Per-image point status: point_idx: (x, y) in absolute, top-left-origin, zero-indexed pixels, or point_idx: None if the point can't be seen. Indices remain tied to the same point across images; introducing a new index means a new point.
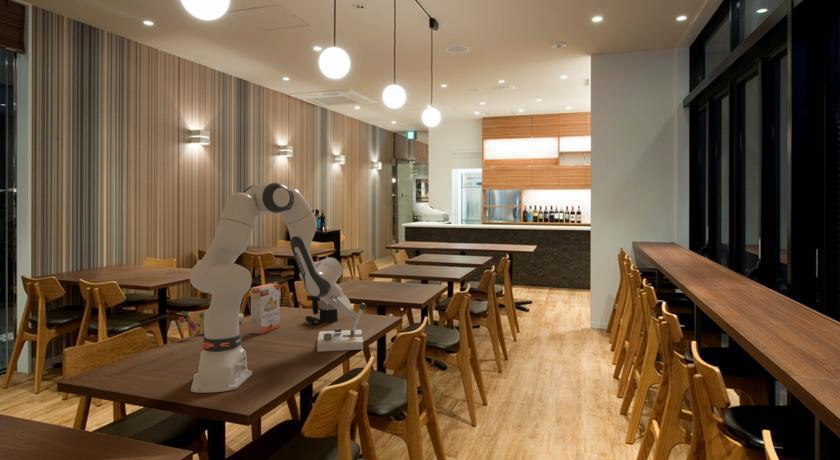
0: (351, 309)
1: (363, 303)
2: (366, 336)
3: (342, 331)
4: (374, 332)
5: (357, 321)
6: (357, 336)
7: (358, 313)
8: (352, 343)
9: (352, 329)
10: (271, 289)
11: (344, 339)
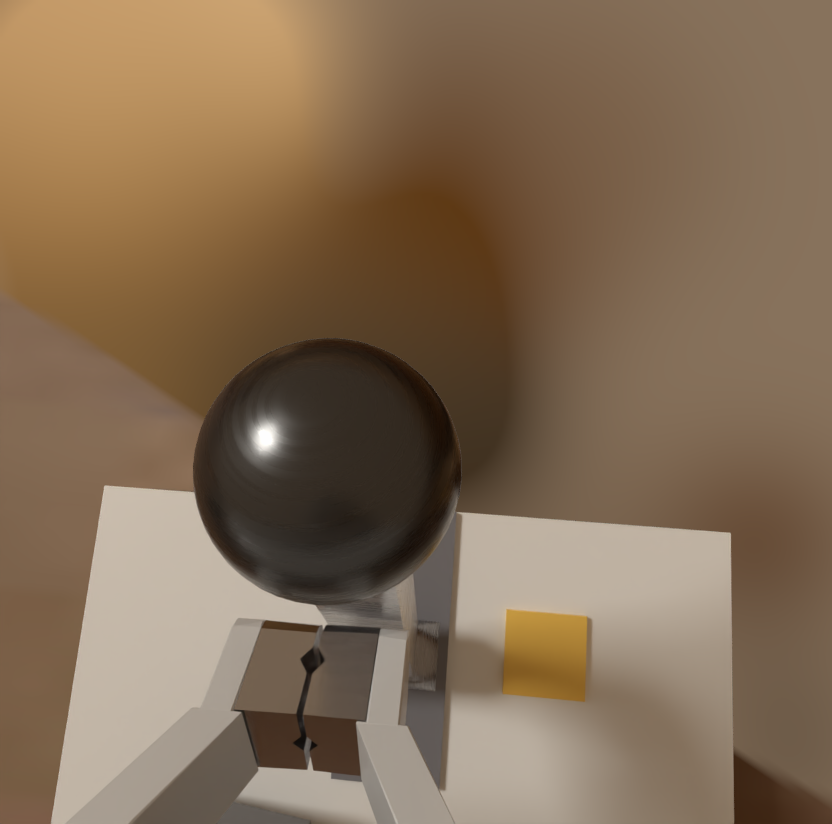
0: (150, 820)
1: (349, 425)
2: (169, 434)
3: (120, 759)
4: (33, 330)
5: (410, 599)
6: (453, 576)
7: (396, 600)
8: (724, 671)
9: (412, 665)
10: None
11: (558, 773)
